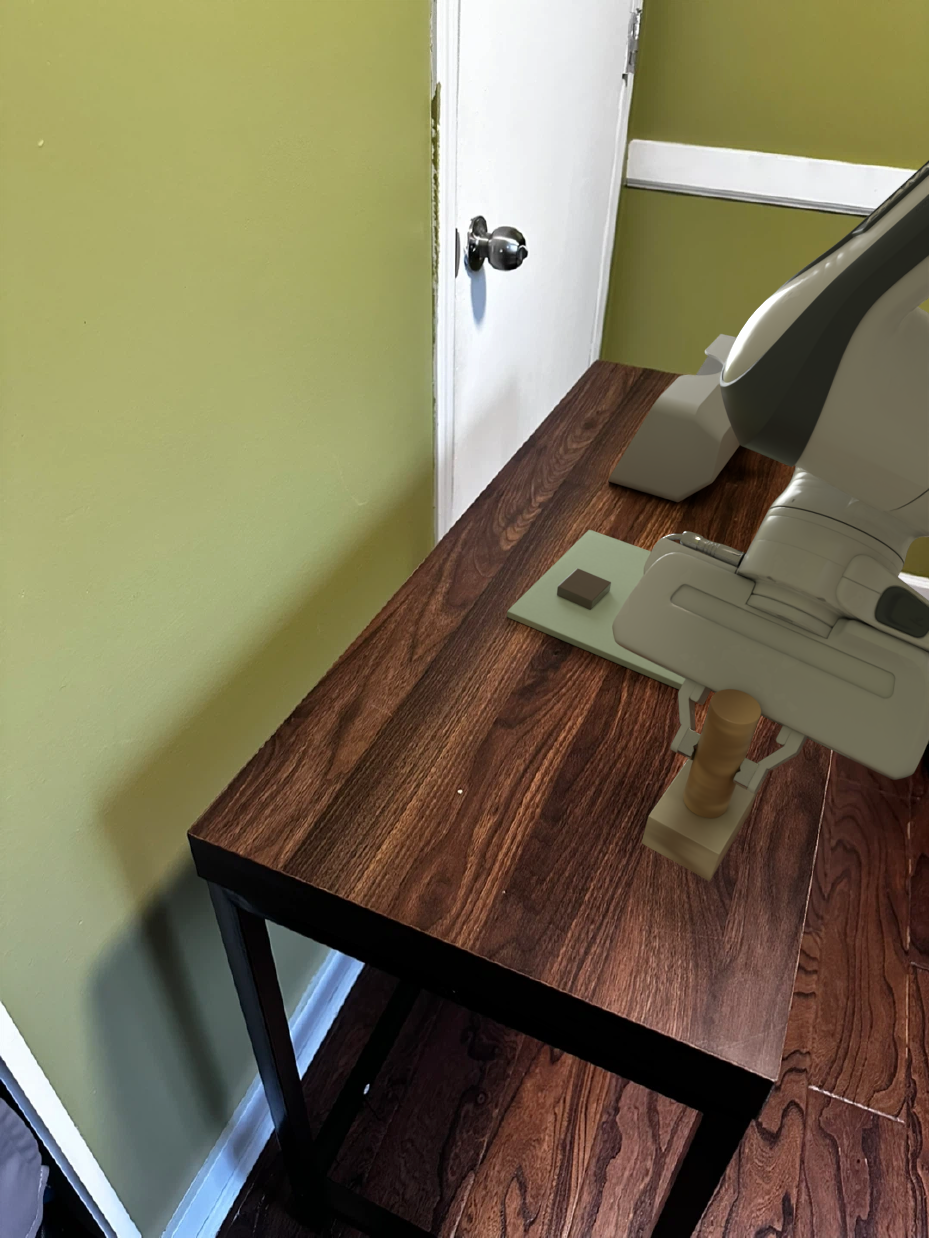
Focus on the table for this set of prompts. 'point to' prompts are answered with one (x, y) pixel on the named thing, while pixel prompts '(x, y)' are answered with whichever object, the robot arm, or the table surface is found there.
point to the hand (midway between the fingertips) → (712, 771)
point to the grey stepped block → (682, 434)
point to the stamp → (707, 790)
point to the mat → (595, 625)
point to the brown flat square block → (583, 588)
